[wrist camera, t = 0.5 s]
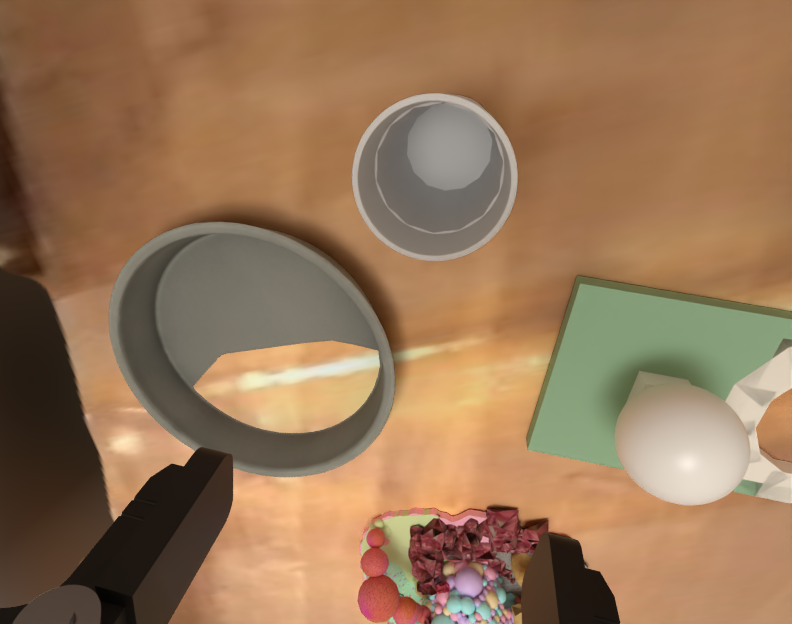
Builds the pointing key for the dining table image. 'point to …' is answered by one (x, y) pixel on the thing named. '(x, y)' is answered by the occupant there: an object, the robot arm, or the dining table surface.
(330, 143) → the dining table surface
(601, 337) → the mini golf board
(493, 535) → the coral reef model
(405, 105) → the cup
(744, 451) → the ball
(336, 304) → the round baking tin
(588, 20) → the dining table surface
